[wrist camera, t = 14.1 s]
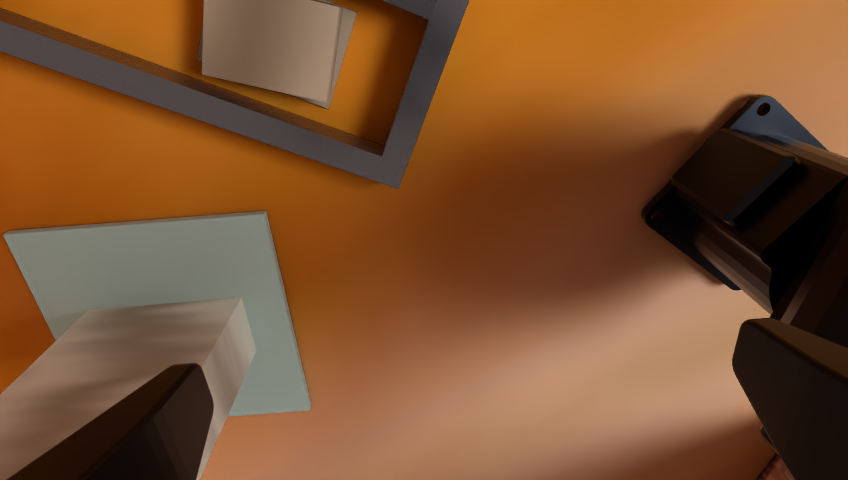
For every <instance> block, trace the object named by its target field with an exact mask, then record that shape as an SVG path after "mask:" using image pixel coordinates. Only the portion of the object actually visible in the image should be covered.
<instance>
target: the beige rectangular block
mask: <svg viewBox="0 0 848 480" xmlns="http://www.w3.org/2000/svg"><path fill="white" fill-rule="evenodd" d="M255 353H256V347H255V344H254V340H253V337H252V333H251V330H250V326H249V322H248V319H247V315H246V312H245V308H244V305H243V301H242V298H230V299H218V300H205V301H193V302H180V303H168V304H155V305H142V306H130V307H117V308H105V309H92V310H88V311H87V312H86V313H85V314H84V315H82V316H81V317H80V318H79V319H78V320H77V321H76V322H75V323H74V324H73V325H72V326H71V327H70V328H69V329H68V330H67V331H66V332H65V333H64V334H63V335H62V336H61V337H60V338H58V339H57V340H56V341H55V342H54V343H53V344H52V345H51V346H50V347H49V348H48V349H47V350H46V351H45V352H44V353H43V354H42V355H41V356H40V357H39V358H38V359H37V360H36V361H35V362H33V363H32V364H31V365H30V366H29V367H28V368H27V369H26V370H25V371H24V372H23V373H22V374H21V375H20V376H19V377H18V378H17V379H16V380H15V381H14V382H13V383H12V384H11V385H10V386H8V387H7V388H6V389H5V390H4V391H3V392H2V393H1V394H0V480H6V479H8V478H9V477H11V476H12V475H14V474H15V473H16V472H18V471H19V470H21V469H22V468H24V467H25V466H27V465H28V464H29V463H31V462H32V461H34V460H35V459H37V458H38V457H40V456H41V455H42V454H44V453H45V452H47V451H48V450H50V449H51V448H53V447H54V446H55V445H57V444H58V443H60V442H61V441H63V440H64V439H66V438H67V437H68V436H70V435H71V434H73V433H74V432H76V431H77V430H79V429H80V428H81V427H83V426H84V425H86V424H87V423H89V422H90V421H92V420H93V419H94V418H96V417H97V416H99V415H100V414H102V413H103V412H105V411H106V410H107V409H109V408H110V407H112V406H113V405H115V404H116V403H117V402H119V401H120V400H122V399H123V398H125V397H126V396H128V395H129V394H130V393H132V392H133V391H135V390H136V389H138V388H139V387H141V386H142V385H143V384H145V383H146V382H148V381H149V380H151V379H152V378H154V377H155V376H156V375H158V374H159V373H161V372H162V371H164V370H165V369H167V368H168V367H170V366H171V365H174V364H183V363H197V364H199V365H200V366H201V367H202V369H203V372H204V375H205V378H206V381H207V383H208V386H209V389H210V392H211V395H212V398H213V403H214V411H213V417H212V420H211V424H210V428H209V432H208V436H207V440H206V444H205V448H204V452H203V456H202V459H201V463H200V467H199V471H198V475H197V479H196V480H200V478H201V475H202V473H203V471H204V469H205V466H206V464H207V462H208V460H209V457H210V455H211V453H212V450H213V448H214V446H215V444H216V441H217V439H218V437H219V435H220V432H221V430H222V428H223V425H224V423H225V421H226V419H227V416H228V414H229V412H230V409H231V407H232V405H233V403H234V400H235V398H236V396H237V394H238V391H239V389H240V387H241V384H242V382H243V380H244V378H245V375H246V373H247V371H248V369H249V366H250V364H251V362H252V359H253V357H254V355H255Z"/></svg>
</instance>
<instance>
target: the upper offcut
mask: <svg viewBox="0 0 848 480" xmlns="http://www.w3.org/2000/svg"><path fill="white" fill-rule="evenodd" d="M342 11H343V7H342V6H338V5H334V4H330V3H325V2H321V1H317V0H204V16H203V51H202V75H206V76H210V77H215V78H219V79H224V80H228V81H233V82H237V83H242V84H246V85H251V86H255V87H260V88H264V89H269V90H273V91H278V92H282V93H286V94H291V95H295V96H300V97H304V98H309V99H313V100H318V101H322V102H327V101H328V100H329V98H330V97H331V90H332V82H333V75H334V68H335V61H336V54H337V47H338V40H339V33H340V26H341V18H342Z"/></svg>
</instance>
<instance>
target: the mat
mask: <svg viewBox="0 0 848 480" xmlns="http://www.w3.org/2000/svg"><path fill="white" fill-rule="evenodd" d="M3 236H4V238H5V240H6V242H7V244H8V246H9V248H10V250H11V252H12V254H13V256H14V258H15V260H16V262H17V264H18V266H19V268H20V270H21V272H22V274H23V276H24V278H25V280H26V282H27V284H28V286H29V288H30V290H31V292H32V294H33V296H34V298H35V300H36V302H37V304H38V306H39V308H40V310H41V312H42V314H43V316H44V319H45V321H46V323H47V325H48V327H49V329H50V331H51V333H52V335H53V337H54V339H55V341H56V340H57V339H58V338H60V337H61V336H62V335H63V334H64V333H65V332H66V331H67V330H68V329H69V328H70V327H71V326H72V325H73V324H74V323H75V322H76V321H77V320H78V319H79V318H80V317H81V316H82V315H84V314H85V313H86V312H87V311H88V310H92V309H105V308H117V307H130V306H142V305H155V304H168V303H180V302H193V301H205V300H218V299H230V298H242V301H243V305H244V308H245V312H246V315H247V319H248V322H249V326H250V330H251V333H252V337H253V340H254V344H255V347H256V353H255V355H254V357H253V359H252V362H251V364H250V366H249V369H248V371H247V373H246V375H245V378H244V380H243V382H242V384H241V387H240V389H239V391H238V394H237V396H236V398H235V400H234V403H233V405H232V407H231V409H230V412H229V414H228V416H227V417H229V416H242V415H256V414H269V413H282V412H296V411H309V410H310V408H311V401H310V397H309V393H308V389H307V384H306V380H305V376H304V371H303V367H302V363H301V358H300V354H299V350H298V346H297V341H296V337H295V333H294V328H293V324H292V320H291V315H290V311H289V307H288V303H287V298H286V294H285V290H284V285H283V281H282V277H281V272H280V268H279V264H278V260H277V255H276V251H275V247H274V242H273V238H272V234H271V229H270V225H269V221H268V217H267V212H266V211H253V212H241V213H228V214H215V215H203V216H190V217H177V218H165V219H152V220H139V221H126V222H114V223H101V224H88V225H76V226H63V227H50V228H38V229H25V230H12V231H8V232H7V233H5V234H3Z"/></svg>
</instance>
